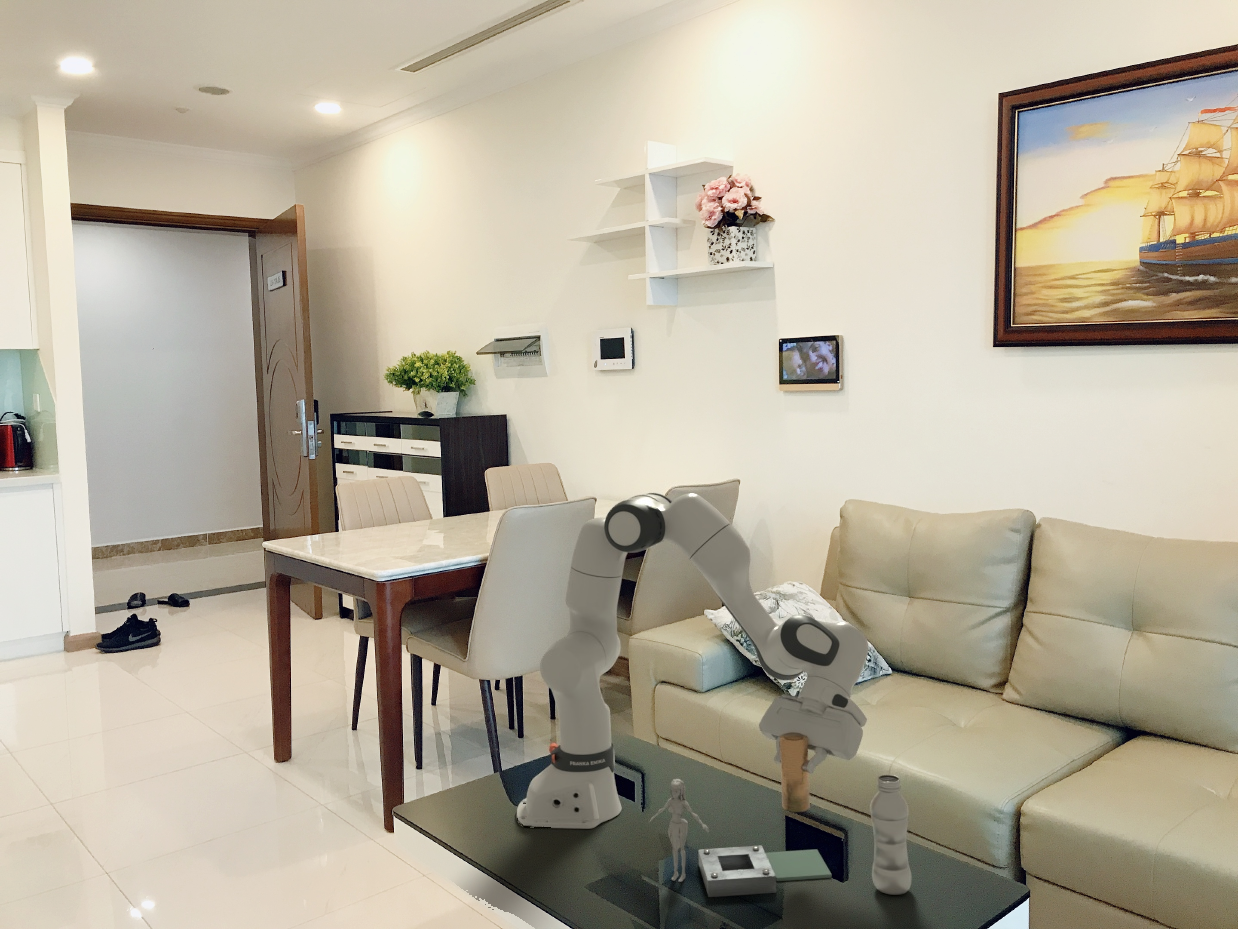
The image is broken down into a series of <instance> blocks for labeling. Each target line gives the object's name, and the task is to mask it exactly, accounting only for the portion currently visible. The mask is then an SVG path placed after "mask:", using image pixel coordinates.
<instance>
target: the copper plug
mask: <svg viewBox="0 0 1238 929" xmlns="http://www.w3.org/2000/svg"><path fill="white" fill-rule="evenodd" d="M780 755H781V765H780V773H781V774H780V779H781V781H780V782H781V807H782V808H783V810H786V811H789V812H793V813H800V812H802V813H803V812H806V811H808V810H809V809H810V807H811V806H810V805H811V804H810V780H809V778H810V773H807V772H805V771H804V770H803V769H802V766H803V764H804V761H805V760H809V749H808V739H807V736H806V735H803V734H801V733H796V732H790V733H785V734H782V735H781V736H780Z"/></svg>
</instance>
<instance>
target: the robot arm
mask: <svg viewBox="0 0 1238 929" xmlns="http://www.w3.org/2000/svg"><path fill="white" fill-rule="evenodd" d="M577 536H578V537H577V540H576V543H575V546H574V550H573V553H572V554H573V555H572V559H571V564H570V569H569V570H570V571H569V576H568V582H567V589H566V593H565V604H566V606H567V608H568V609H569V610H568V611H569V619H570V622H569V623H570V626H569V629H568V633H567V634H566V636H564V637H562V638H560V639H558V640H556V641H555V642H554V643H552V644H551V646H549V648H548V649H547V650H546V651H545V653H544V654H543V656H542V658H541V660H540V664H539V672H540V676H541V678H542V681H543V682H544V683H545V685H546V686H547V687H548V688H549V689H550V690H551V693H552V695H553V698H554V701H555V705H556V710H557V714H558V715H557V716H558V730H559V733H558V734H559V745H558V744H557V743H555V742H552V743H551V744H550V745H549V747H548V752H549V753H550V765H548V766H546V768H545V769H544V770H542V771H541V772H540V773H539V774H536V775H535V777H533V778H532V780H531V781H530V783H529V786H528V789H527V792H526V797H525V798H523V799H522V800H520V802H519V804H518V805H517V808H516V819H517V818H518V820H519V821H520V822H521V823H522V824H523V825H532V826H542V827H543V826H544V827H551V828H550V829H582V830H583V829H587V830H588V829H589V830H590V829H594V828H596V827H597V826H598V825H600V824H601V823H604V822H607V821H608V820H611V819H613V818H615V817H616V816H618V815H619V814H621V812H622V804H621V801H620V797H619V795H618V791H617V786H616V779H615V772H614V771H615V766H616V762H615V760H616V759H615V758H616V757H615V749H614V743H613V742H612V729H611V728H612V727H611V726H612V725H611V711H610V710H611V709H610V707H609V705H608V704H607V703H606V702H605V701H604V698H603V697H604V696H603V695H602V691H601V686H600V678H601V676H602V675H604V674H605V673H606V672H608V671H610V669H611V668H613V666H614V665H615V663H616V662H617V659H619V656H620V653H621V650H622V649H621V647H622V645H621V644H622V643H621V640H620V637H619V635H618V619H617V614H618V613H617V611H618V603H619V597H620V591H621V585H622V579H623V574H624V566H625V561H626V558H627V555H628V553H629V554H631V553H639V552H642V551H645V550H649V549H651V548H654V547H656V546H658V545H659V544H660V543H662V542H670V543H672V544H674V545H676V546H677V548H679V550H681V551H682V553H683V554H684V555H685V557H686V558H687V559H688V560H689V561H690V562H691V564H693V566H694V567H695V568H696V569H697V571H698V572H700V574H701V575H702V577H703V578H704V579H705V580H706V582H708V584H709V585H710V587H711V588H712V589H713V592H715V593H716V595H717V597H718V598H719V601H721V603H722V605H723V606H724V607H725V608H726V610H727V611H728V613H729V614H730V615H731V617H732V618H733V619H734V620H735V622H736V623H737V625H738V627H740V628H741V630H742V631H743V633H744V634H745V635H746V637H747V638H748V639H749V641H750V642H751V644H752V646H753V648H754V650H755V653H756V656H757V659H758V661H759V663H760V666H761V668H762V669H763V670H764V671H765V673H767V675H769V676H770V677H772V678H774V679H777V680H780V681H792V680H795V679H796V678H799V677H800V676H801V675H802V674H803V673H804V672H805V674H806V675H807V676H806V679H805V681H804V684H803V685H802V688H801V690H800V692H799V694H798V696H796V695H790V694H787V693H782V694H781V695H778V696H776V697H775V698H773V700H772V702H771V704H770V705H769V707H768V708H767V709H766V711H765V713H764V714H763V716H762V718H761V719H760V721H759V723H758V728H759V731H760V733H761V734H762V735H763V736H764V737H765V738H766V739H769V740H772V741H775V746H776V754H775V755H774V758H773V761H774V762H775V763H776V765H777V764H778V765H779V766H781V755H780V736H781V735H782V734H785V733H790V732H796V733H801V734H803V735H806V736H807V739H808V751H813V752H814V753H815V754H813V756H811V758H809V759H808V760H805V761H804V764H803V766H802V769H803V770H804V771H805V772H807V773H809V775H810V774H811V775H812V774H814V772H815V770H816V767H817V766H819V765H820V764H822V762H824V761H826V759H827V757H828V756H831V757H835V758H839V759H843V760H846V761H850V760H852V759H853V758H855V756H856V755H857V753H858V750H859V749H860V745H861V742H862V740H863V735H864V730H863V727H865V725H866V723H867V722H868V719H867V717H866V715H865V713H864V712H863V711H862V710H861V708H860V707H859V706H858V705H857V703H855V702H854V700H852V699H851V698H852V697H851V696H852V690H853V688H854V686H855V685H856V683H857V682H858V681H859V679H860V677H861V674H862V671H863V670H864V666H865V664H866V660H867V658H868V654H869V642H868V638H867V637H866V636H865V634H864V633H863V632H862V631H861V630H860V629H859V628H857V627H856V626H855V625H853V624H850V623H849V622H845V621H840V622H825V621H822V620H818V619H815V618H813V617H811V616H809V615H806V614H805V615H804V614H796V615H792V616H791V617H789V618H787V619H786V620H785V621H783V622H782V623H781V624H780V625H779V624H778V623H777V622H776V621H775V620H774V619H773V617H772V616H771V615H770V613H769V611H768V610H766V609H765V607H764V605H763V604H762V603H761V602H760V600H759V599H758V598H757V597H756V595H755V593H754V592H753V589H752V587H751V582H750V565H751V552H750V549H749V547H748V544H747V543H746V541H745V540H744V537H743V536H742V535H741V533H740V532H739V531H738V530H737V528H735V526H734V525H733V524H732V523H731V522H730V521H729V520H728V519H727V517H725V516H724V515H723V513H721V511H719V510H718V509H717V508H716V507H715V506H714V505H712V503H710V502H709V501H708V500H706V499H705V498H703V497H702V496H701V495H699V494H697V493H694V492H690V493H689V492H688V493H684V494H682V495H679V496H677V497H676V498H675V499H674V500H672V499H671V498H670V497H668V496H666V495H664V494H661V493H657V492H649V493H645V494H637V495H634V496H632V497H629V498H628V499H626V500H623V501H619V502H618V503H616V504H615V505H614V506H613V507H612V508H610V510H609V511H608V513H607V515H606V516H605V517H595V518H591V519H589V520H587V521H586V522H585V523H584V524H582V526H581V529H580V531H579V534H578V535H577ZM523 803H526V804H523Z"/></svg>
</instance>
